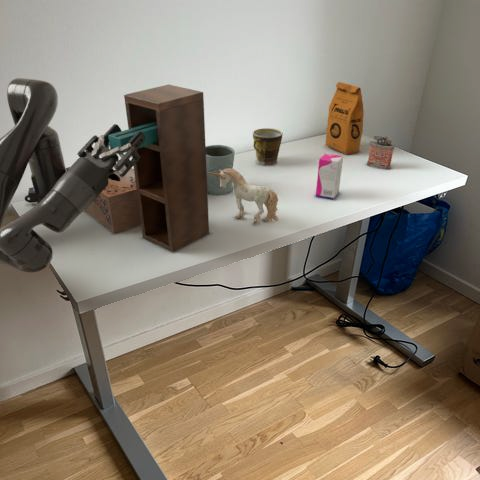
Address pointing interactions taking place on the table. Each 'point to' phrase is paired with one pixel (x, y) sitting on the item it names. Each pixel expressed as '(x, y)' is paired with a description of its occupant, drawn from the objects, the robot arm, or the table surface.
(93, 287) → the table surface
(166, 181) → the shelf
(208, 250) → the table surface
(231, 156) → the grey flower pot
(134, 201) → the tissue box cover
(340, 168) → the supplement box
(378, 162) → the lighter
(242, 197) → the unicorn figurine
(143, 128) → the pencil case
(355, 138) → the coffee package
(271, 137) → the ceramic cup
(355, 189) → the table surface
